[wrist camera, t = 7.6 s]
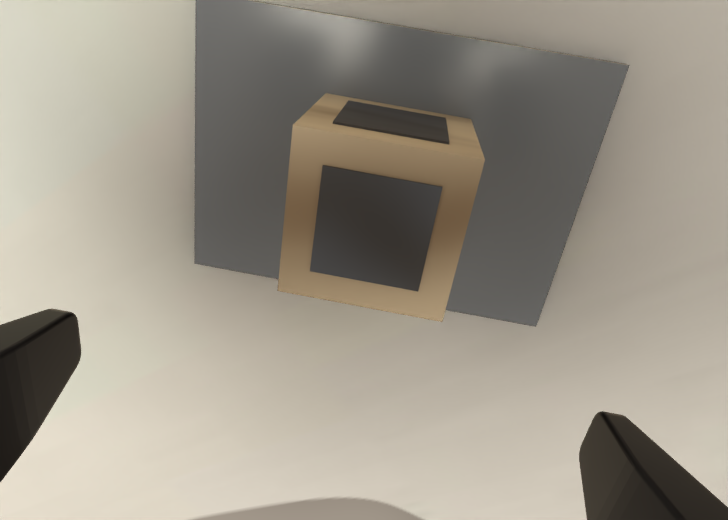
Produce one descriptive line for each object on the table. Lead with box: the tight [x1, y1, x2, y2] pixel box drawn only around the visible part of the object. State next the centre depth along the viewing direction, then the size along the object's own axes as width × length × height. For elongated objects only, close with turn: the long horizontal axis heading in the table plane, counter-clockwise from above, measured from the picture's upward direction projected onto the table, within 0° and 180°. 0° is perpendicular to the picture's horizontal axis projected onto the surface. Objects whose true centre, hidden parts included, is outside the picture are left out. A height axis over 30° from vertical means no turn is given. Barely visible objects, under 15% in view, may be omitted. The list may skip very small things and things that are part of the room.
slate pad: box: [195, 0, 629, 327], centre depth 19 cm, size 14×10×1 cm
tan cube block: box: [278, 93, 485, 322], centre depth 17 cm, size 5×5×5 cm
